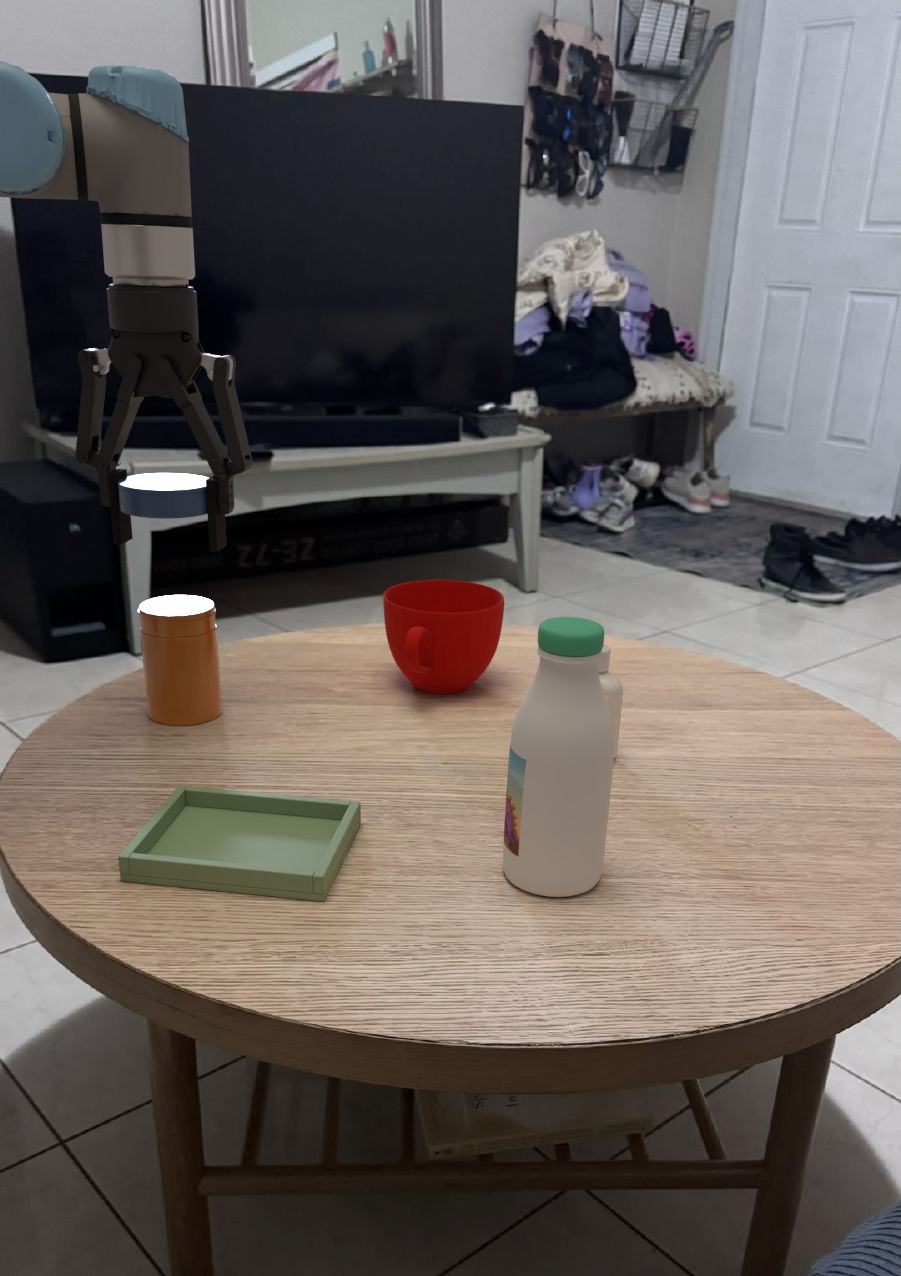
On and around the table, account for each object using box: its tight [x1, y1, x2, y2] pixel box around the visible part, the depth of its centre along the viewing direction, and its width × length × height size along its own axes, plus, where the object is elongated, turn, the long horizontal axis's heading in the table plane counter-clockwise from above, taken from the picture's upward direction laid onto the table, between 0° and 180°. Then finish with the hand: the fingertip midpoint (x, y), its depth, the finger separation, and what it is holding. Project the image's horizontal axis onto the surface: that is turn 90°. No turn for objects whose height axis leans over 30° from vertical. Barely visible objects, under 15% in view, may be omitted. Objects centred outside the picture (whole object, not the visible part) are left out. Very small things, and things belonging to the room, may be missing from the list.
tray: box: [117, 784, 362, 902], centre depth 88 cm, size 16×13×2 cm
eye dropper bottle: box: [598, 643, 624, 759], centre depth 105 cm, size 4×6×12 cm
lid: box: [117, 472, 209, 520], centre depth 104 cm, size 9×9×2 cm
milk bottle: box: [502, 616, 615, 898], centre depth 82 cm, size 8×8×20 cm
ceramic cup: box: [382, 579, 505, 695], centre depth 120 cm, size 13×17×10 cm
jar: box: [137, 594, 223, 727], centre depth 112 cm, size 7×7×11 cm
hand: (170, 544), depth 106 cm, fingers closed on lid, 9 cm apart
